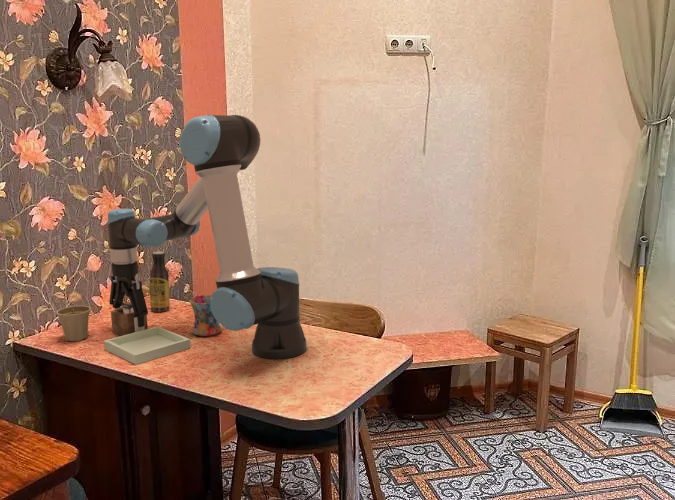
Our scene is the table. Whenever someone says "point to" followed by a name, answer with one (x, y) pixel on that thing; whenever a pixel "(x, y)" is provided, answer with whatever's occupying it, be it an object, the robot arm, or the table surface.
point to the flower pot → (74, 322)
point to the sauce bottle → (159, 284)
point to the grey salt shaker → (127, 308)
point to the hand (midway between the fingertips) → (130, 332)
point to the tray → (147, 345)
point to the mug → (204, 316)
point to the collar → (124, 322)
